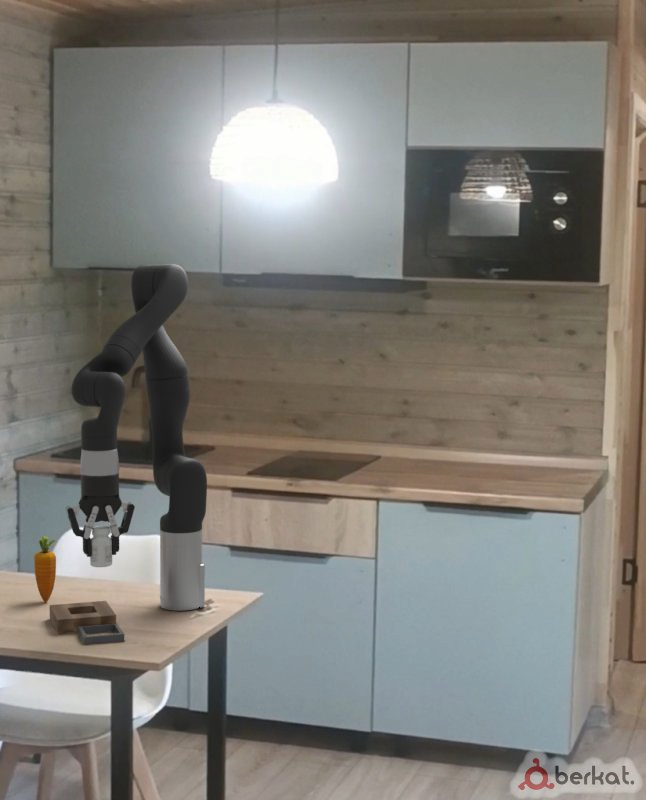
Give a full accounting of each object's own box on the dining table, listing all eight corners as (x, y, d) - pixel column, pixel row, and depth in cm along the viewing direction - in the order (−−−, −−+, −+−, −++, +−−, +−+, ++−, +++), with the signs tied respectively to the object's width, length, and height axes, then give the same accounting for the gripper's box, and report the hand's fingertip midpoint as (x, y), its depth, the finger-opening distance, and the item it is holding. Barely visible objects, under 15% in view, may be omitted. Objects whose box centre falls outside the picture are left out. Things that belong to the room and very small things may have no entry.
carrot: (38, 598, 299) (37, 533, 297) (59, 599, 298) (59, 533, 296) (31, 604, 294) (30, 537, 292) (53, 605, 293) (52, 538, 292)
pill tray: (117, 630, 274) (117, 623, 274) (124, 641, 267) (124, 633, 266) (78, 633, 271) (78, 626, 271) (84, 644, 264) (84, 637, 264)
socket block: (106, 614, 286) (105, 600, 286) (116, 629, 275) (116, 615, 275) (49, 618, 282) (49, 605, 282) (57, 634, 271) (57, 619, 271)
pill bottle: (112, 562, 270) (111, 524, 269) (112, 567, 266) (112, 529, 265) (90, 563, 269) (89, 525, 268) (90, 568, 265) (89, 530, 264)
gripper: (131, 466, 271) (132, 548, 273) (60, 470, 267) (62, 553, 268) (139, 472, 264) (140, 556, 266) (66, 476, 259) (68, 562, 261)
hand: (101, 554), depth 267 cm, fingers closed on pill bottle, 4 cm apart
